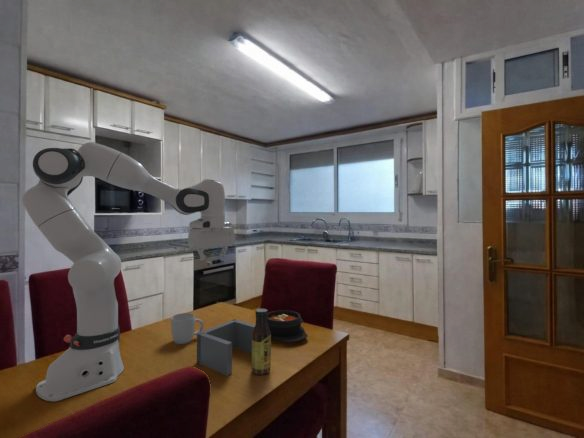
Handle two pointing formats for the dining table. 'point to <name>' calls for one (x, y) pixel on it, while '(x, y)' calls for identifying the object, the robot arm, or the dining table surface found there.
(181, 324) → the mug
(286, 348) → the dining table surface
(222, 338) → the folding screen
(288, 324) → the casserole
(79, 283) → the robot arm
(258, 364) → the sauce bottle
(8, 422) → the dining table surface
